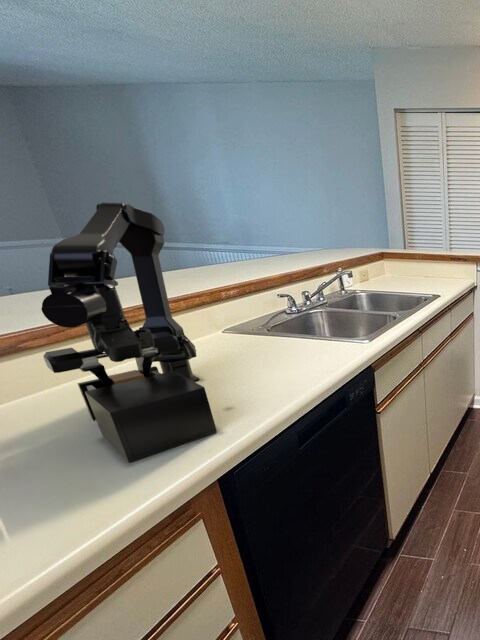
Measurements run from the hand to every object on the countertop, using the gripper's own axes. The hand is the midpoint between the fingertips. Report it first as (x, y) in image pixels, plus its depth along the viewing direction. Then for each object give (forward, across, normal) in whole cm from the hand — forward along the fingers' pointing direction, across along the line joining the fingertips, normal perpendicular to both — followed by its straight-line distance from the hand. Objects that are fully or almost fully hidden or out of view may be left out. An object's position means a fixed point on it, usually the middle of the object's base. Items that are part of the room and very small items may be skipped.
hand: (131, 391), depth 84 cm
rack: (+5, 0, -1) cm, 5 cm away
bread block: (+1, 0, 0) cm, 1 cm away
